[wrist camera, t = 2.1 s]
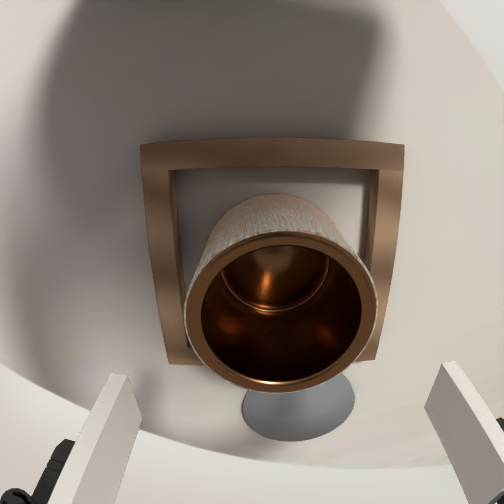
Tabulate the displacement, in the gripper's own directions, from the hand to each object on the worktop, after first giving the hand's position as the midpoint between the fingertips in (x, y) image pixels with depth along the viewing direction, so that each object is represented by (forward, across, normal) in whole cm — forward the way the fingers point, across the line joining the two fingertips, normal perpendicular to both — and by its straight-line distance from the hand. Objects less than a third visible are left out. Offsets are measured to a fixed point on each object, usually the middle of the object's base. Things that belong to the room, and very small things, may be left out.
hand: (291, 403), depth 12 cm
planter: (+15, 0, 0) cm, 15 cm away
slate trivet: (+15, +3, -17) cm, 23 cm away
